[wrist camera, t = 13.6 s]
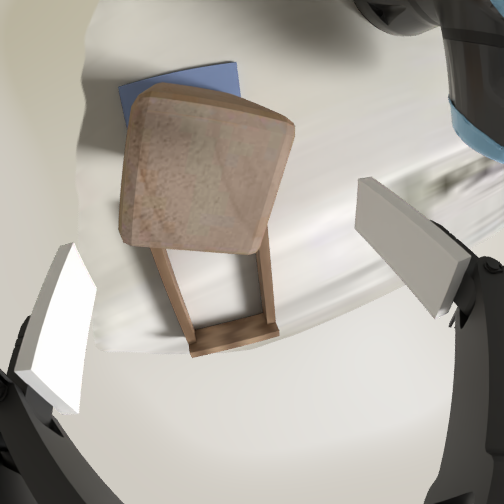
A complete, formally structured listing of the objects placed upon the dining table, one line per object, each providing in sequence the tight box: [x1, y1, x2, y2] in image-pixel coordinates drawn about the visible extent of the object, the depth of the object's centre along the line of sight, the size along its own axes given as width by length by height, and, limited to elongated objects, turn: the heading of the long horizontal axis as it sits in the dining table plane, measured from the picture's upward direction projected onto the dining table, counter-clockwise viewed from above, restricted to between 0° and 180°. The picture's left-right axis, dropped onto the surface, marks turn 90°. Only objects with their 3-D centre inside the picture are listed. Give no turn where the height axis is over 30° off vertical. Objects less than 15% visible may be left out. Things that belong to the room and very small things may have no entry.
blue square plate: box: [118, 62, 241, 130], centre depth 33 cm, size 14×14×1 cm
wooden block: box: [118, 82, 295, 255], centre depth 25 cm, size 10×10×20 cm
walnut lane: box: [150, 227, 279, 358], centre depth 45 cm, size 16×28×5 cm, turn 7°
